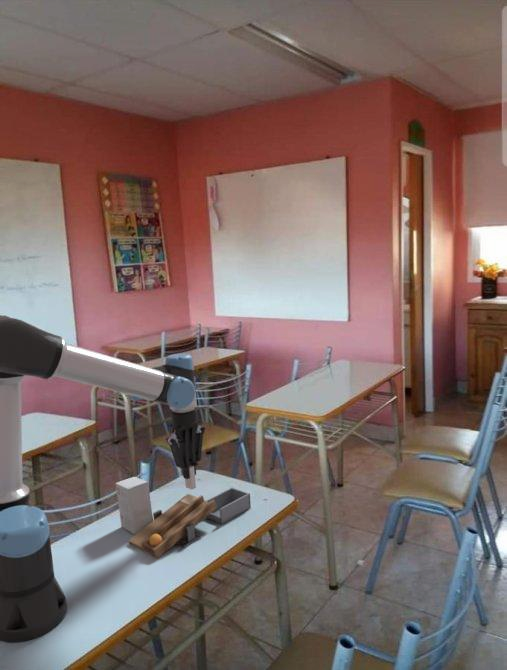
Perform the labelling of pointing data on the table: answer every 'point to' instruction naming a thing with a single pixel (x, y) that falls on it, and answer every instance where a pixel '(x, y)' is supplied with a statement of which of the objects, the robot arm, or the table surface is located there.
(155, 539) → the ball
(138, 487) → the small box
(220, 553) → the table surface
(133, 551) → the table surface
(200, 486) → the table surface
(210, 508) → the seesaw
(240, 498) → the tray
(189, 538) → the pivot bracket
